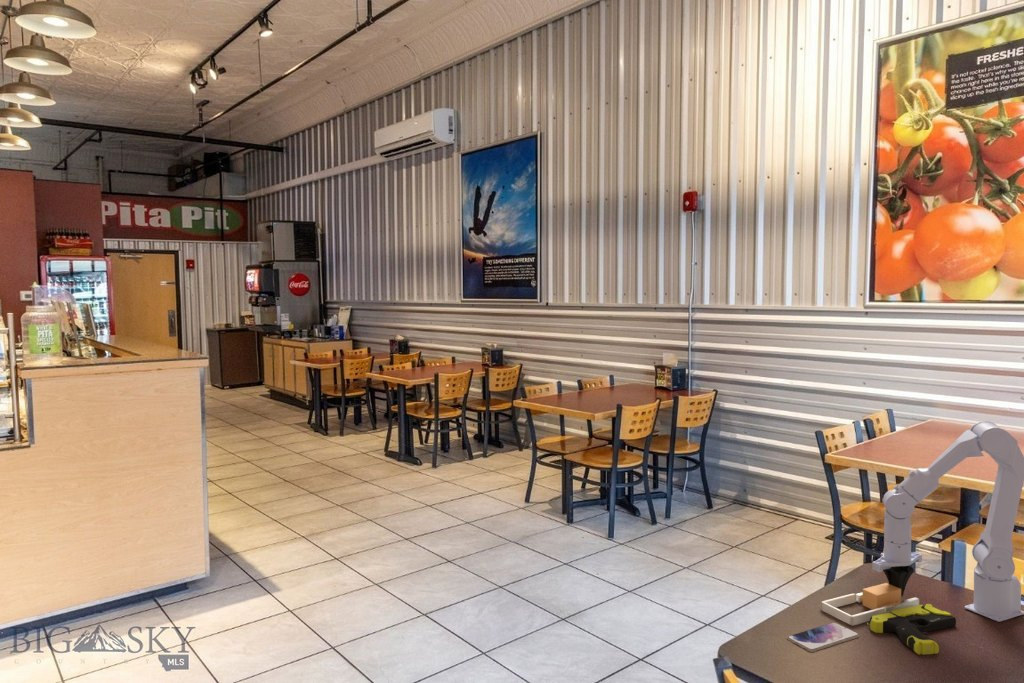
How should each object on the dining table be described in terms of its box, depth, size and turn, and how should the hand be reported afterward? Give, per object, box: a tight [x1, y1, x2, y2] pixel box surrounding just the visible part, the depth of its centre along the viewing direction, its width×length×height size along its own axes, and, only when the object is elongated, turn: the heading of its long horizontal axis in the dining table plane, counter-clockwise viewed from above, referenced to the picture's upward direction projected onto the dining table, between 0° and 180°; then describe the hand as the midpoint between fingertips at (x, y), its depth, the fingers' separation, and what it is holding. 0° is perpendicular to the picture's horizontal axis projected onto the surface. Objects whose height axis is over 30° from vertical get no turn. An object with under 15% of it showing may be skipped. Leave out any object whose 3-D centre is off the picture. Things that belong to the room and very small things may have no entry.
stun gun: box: [866, 603, 957, 656], centre depth 149 cm, size 3×19×15 cm
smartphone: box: [786, 622, 860, 653], centre depth 149 cm, size 7×1×15 cm
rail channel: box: [855, 591, 920, 613], centre depth 164 cm, size 11×8×2 cm
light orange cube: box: [875, 582, 902, 604], centre depth 164 cm, size 4×4×4 cm
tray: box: [820, 593, 886, 626], centre depth 160 cm, size 11×9×2 cm
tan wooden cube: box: [862, 585, 889, 610], centre depth 162 cm, size 4×4×4 cm
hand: (897, 595), depth 165 cm, fingers closed
